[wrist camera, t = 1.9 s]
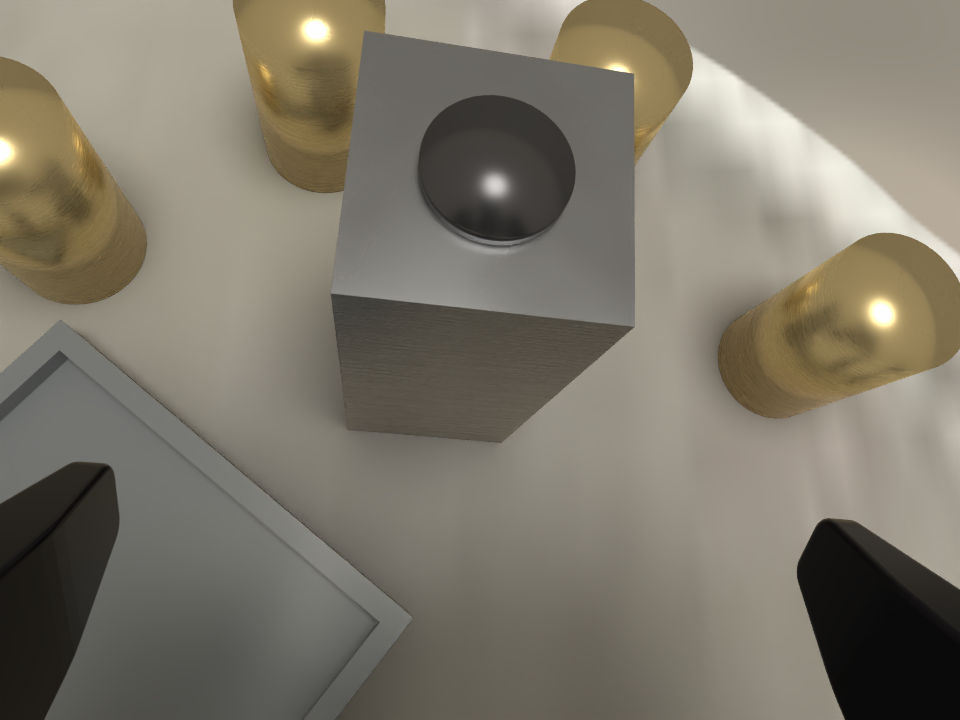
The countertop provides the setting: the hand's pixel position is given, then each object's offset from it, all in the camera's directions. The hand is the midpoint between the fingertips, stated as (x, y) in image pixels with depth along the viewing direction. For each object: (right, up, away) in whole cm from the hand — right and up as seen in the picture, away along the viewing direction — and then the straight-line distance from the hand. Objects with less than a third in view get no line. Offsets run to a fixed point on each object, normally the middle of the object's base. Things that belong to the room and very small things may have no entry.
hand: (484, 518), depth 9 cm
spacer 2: (+9, +2, +14) cm, 17 cm away
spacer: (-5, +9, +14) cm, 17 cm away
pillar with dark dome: (-1, +2, +12) cm, 13 cm away
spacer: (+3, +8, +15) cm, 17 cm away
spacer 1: (-12, +5, +12) cm, 17 cm away
